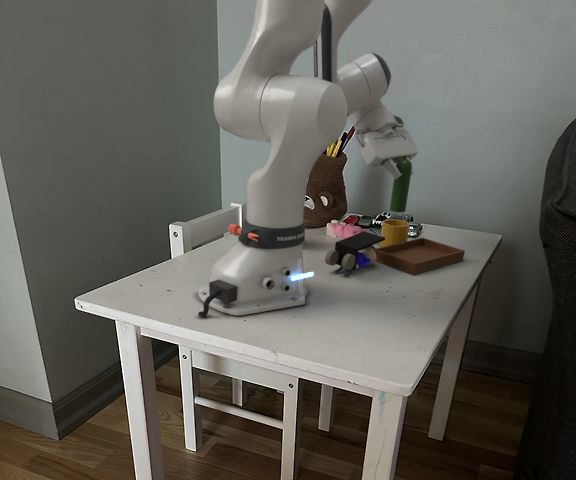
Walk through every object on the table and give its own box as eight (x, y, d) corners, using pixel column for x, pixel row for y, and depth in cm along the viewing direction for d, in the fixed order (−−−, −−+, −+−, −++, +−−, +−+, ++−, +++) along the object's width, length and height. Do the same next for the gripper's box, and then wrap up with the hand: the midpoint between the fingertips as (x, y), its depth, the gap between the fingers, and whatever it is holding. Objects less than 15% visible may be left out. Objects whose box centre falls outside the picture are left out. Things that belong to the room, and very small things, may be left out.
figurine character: (347, 286, 121) (384, 264, 130) (348, 254, 116) (386, 233, 126) (323, 279, 125) (360, 258, 134) (323, 247, 120) (362, 227, 129)
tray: (413, 275, 126) (415, 264, 124) (371, 259, 134) (372, 249, 133) (462, 260, 136) (465, 250, 135) (420, 247, 145) (422, 237, 144)
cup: (394, 251, 141) (397, 227, 138) (373, 244, 145) (376, 221, 142) (411, 247, 145) (415, 224, 142) (391, 240, 149) (394, 218, 146)
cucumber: (398, 213, 138) (406, 157, 131) (386, 209, 140) (393, 155, 134) (408, 211, 140) (417, 156, 133) (396, 208, 143) (404, 154, 136)
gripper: (361, 121, 126) (392, 172, 126) (405, 118, 140) (433, 164, 140) (344, 139, 131) (373, 189, 131) (388, 135, 145) (415, 180, 145)
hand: (404, 176), depth 136 cm, fingers closed on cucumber, 4 cm apart
